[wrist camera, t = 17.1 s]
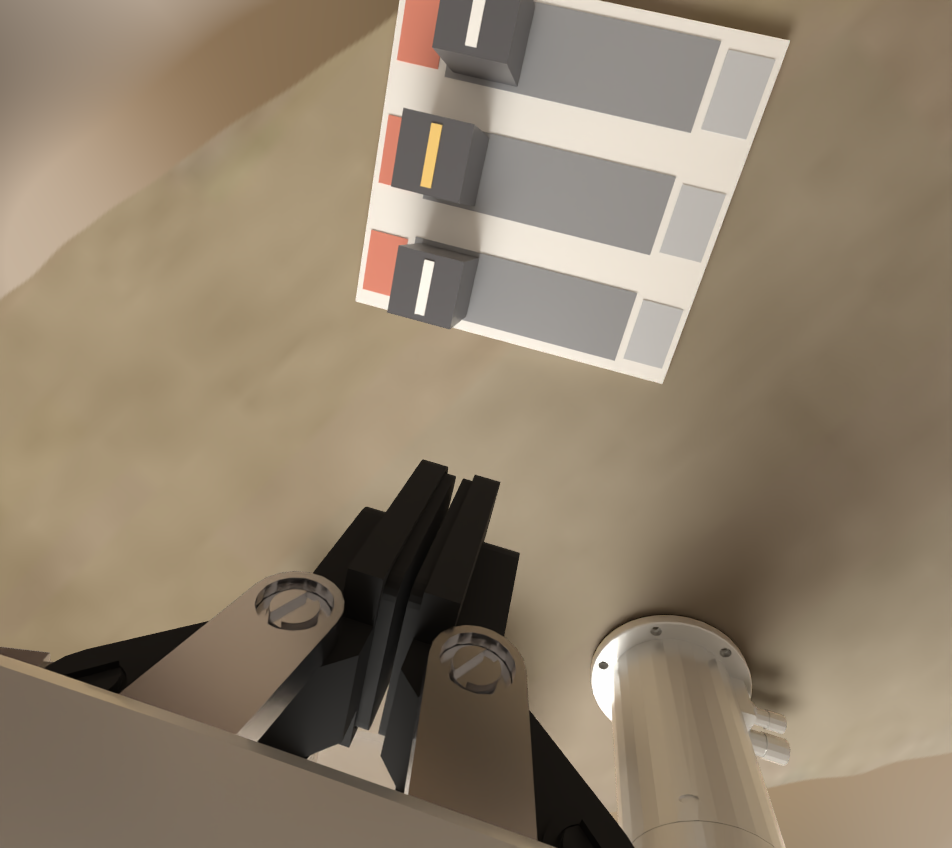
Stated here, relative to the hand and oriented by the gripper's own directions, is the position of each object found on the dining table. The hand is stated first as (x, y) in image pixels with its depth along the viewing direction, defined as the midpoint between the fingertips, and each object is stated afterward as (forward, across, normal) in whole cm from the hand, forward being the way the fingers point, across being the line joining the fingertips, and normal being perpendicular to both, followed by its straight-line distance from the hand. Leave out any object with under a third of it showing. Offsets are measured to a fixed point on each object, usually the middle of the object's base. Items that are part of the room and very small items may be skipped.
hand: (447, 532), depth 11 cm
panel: (+29, +2, -8) cm, 30 cm away
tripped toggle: (+28, +8, -8) cm, 30 cm away
